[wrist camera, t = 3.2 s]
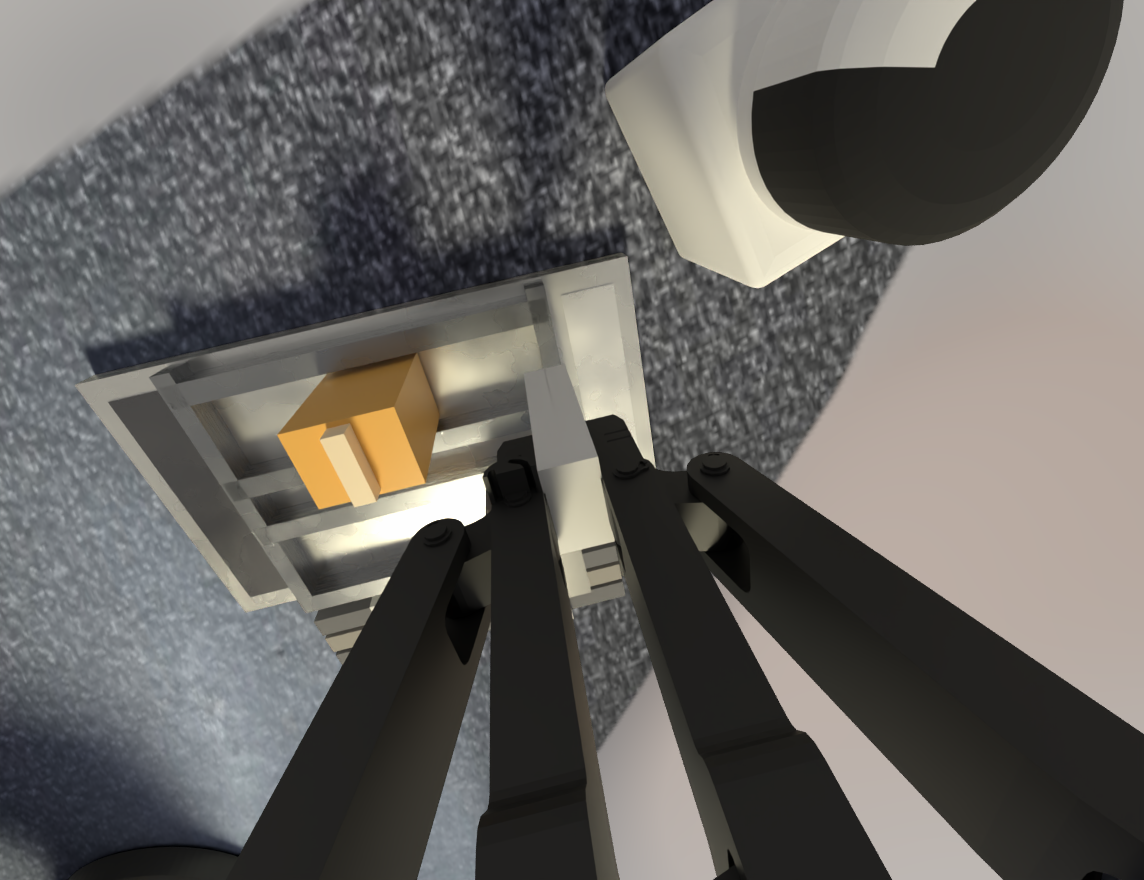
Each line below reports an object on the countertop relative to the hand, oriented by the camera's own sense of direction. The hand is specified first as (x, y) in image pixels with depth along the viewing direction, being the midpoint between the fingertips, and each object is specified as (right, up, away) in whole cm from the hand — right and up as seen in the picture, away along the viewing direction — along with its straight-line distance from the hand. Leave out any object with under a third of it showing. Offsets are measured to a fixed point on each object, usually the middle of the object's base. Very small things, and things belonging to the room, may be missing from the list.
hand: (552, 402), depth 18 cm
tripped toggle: (-8, +1, +5) cm, 9 cm away
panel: (-7, -2, +8) cm, 11 cm away
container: (+7, +12, +3) cm, 14 cm away
